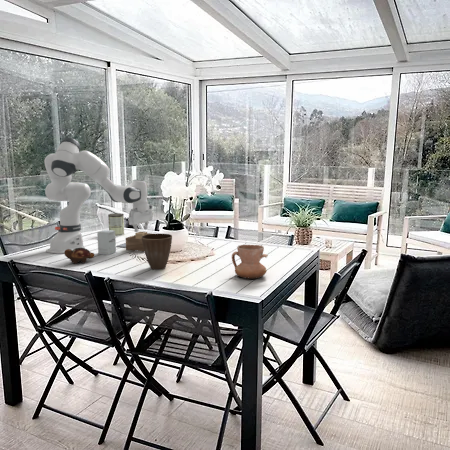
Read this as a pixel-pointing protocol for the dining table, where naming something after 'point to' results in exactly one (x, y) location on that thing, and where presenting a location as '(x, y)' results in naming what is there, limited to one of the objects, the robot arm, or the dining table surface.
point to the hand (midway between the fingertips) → (141, 230)
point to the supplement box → (106, 242)
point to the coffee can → (116, 223)
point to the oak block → (140, 234)
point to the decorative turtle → (78, 255)
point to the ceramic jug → (249, 261)
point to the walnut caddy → (134, 243)
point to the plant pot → (157, 249)
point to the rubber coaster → (122, 245)
